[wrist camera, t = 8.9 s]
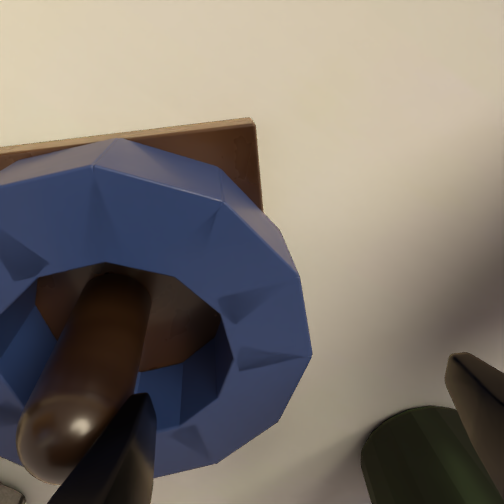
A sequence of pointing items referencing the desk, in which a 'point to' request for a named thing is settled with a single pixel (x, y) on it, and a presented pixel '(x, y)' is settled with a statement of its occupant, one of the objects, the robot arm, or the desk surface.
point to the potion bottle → (425, 461)
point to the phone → (10, 496)
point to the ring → (162, 262)
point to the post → (118, 311)
